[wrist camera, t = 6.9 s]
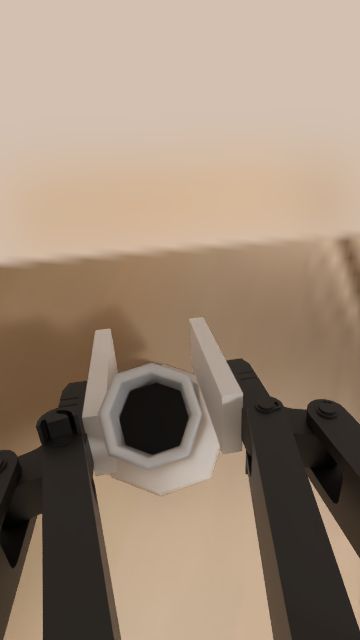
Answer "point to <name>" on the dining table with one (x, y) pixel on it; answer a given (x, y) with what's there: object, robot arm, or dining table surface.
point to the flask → (158, 429)
